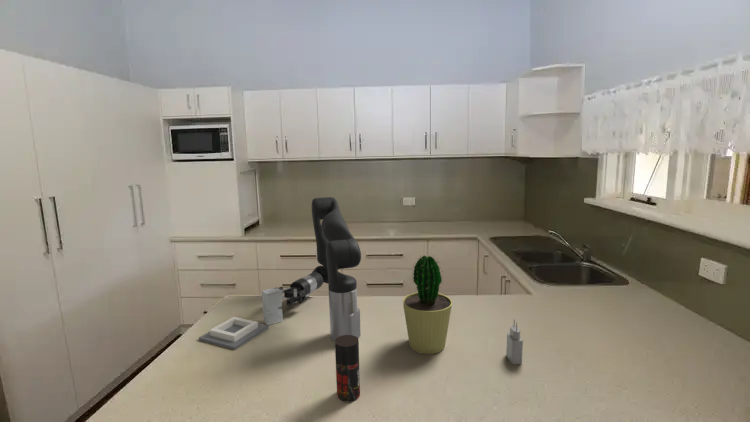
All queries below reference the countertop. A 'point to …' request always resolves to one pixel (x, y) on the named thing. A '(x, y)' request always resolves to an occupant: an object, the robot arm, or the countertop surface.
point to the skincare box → (272, 306)
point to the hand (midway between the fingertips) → (278, 301)
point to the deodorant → (347, 368)
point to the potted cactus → (427, 309)
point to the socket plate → (233, 333)
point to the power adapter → (514, 345)
